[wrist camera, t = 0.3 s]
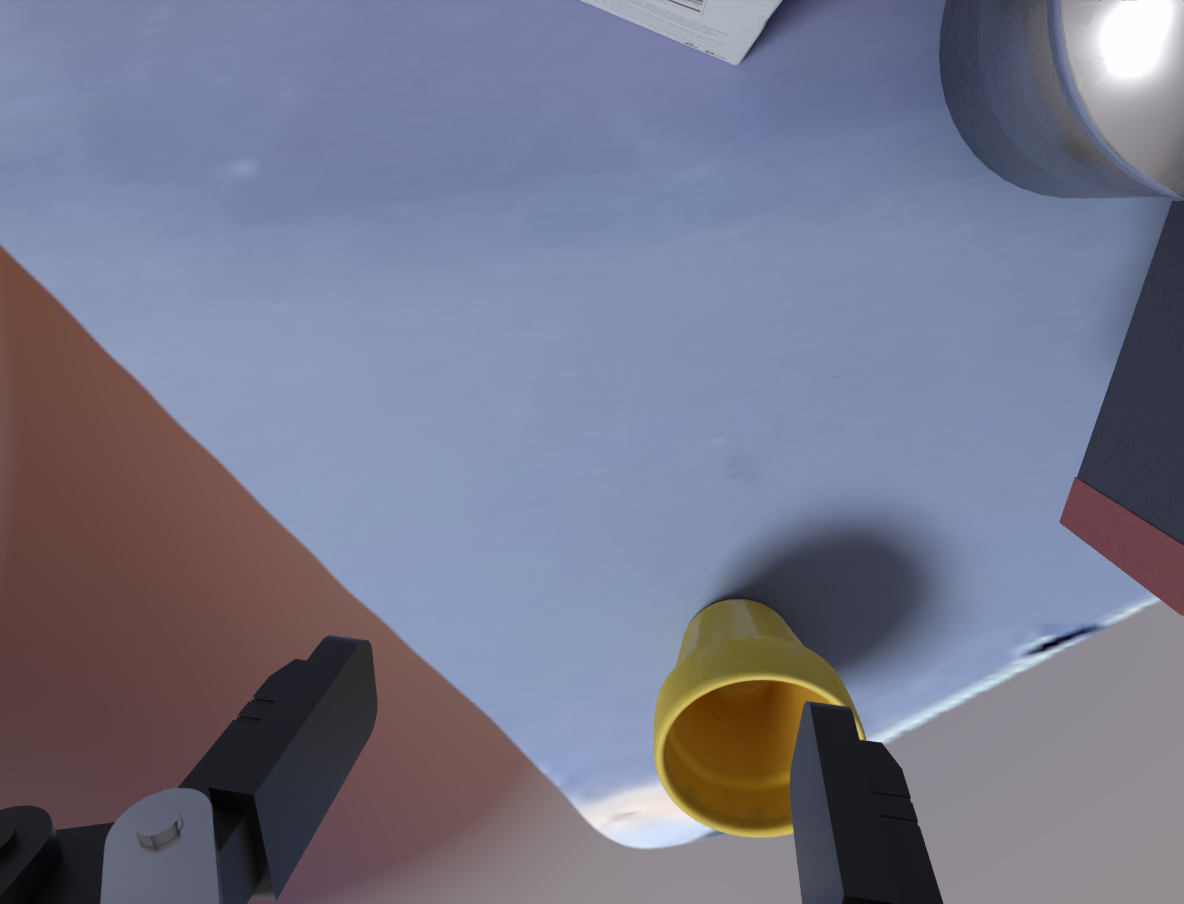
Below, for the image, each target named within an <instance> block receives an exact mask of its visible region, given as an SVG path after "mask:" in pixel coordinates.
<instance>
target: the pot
mask: <svg viewBox="0 0 1184 904" xmlns="http://www.w3.org/2000/svg"><path fill="white" fill-rule="evenodd" d="M939 58H940V70H941V81H942V86H943V90H944V95H945V99H946V103H947V106H948V108H949V111H950V114H951V117H952V119H953V122H954V124H955V125H956V127H957V129H958V131H959V133H960V135H961V137H962V138H963V140H964V141H965V143H966V144H967V145H968V147H969V148H970V149H971V151H972V152H973V153H974V154H975V156H976V157H977V158H979V159H980V160H981V161H982V162H983V163H984V164H985V165H986V166H987V167H988V168H989V169H990V170H992V171H993V172H994V173H996V174H997V175H999V176H1000V177H1002V178H1003V179H1004V180H1006V181H1008V182H1010V183H1012V184H1014V185H1016V186H1018V187H1020V188H1022V189H1026V190H1029V191H1032V192H1035V193H1038V194H1041V195H1047V196H1053V197H1059V198H1123V197H1172V196H1169V195H1166V194H1163V193H1160V192H1158V191H1156V190H1154V189H1152V188H1150V187H1148V186H1146V185H1144V184H1142V183H1140V182H1138V181H1136V180H1134V179H1133V178H1131V177H1130V176H1129V175H1127V174H1126V173H1125V172H1123V171H1122V170H1121V169H1119V168H1118V167H1116V166H1115V165H1114V164H1112V163H1111V162H1110V161H1109V160H1108V159H1107V158H1106V157H1105V156H1104V155H1103V154H1102V153H1101V152H1100V151H1099V149H1098V148H1097V147H1096V146H1095V145H1094V144H1093V143H1092V142H1091V141H1090V139H1089V138H1088V136H1087V135H1086V134H1085V132H1084V131H1083V129H1082V128H1081V126H1080V125H1079V123H1078V122H1077V121H1076V119H1075V117H1074V115H1073V113H1072V111H1071V109H1070V107H1069V105H1068V103H1067V101H1066V99H1065V97H1064V95H1063V92H1062V89H1061V86H1060V83H1059V80H1058V77H1057V73H1056V70H1055V67H1054V64H1053V59H1052V53H1051V46H1050V40H1049V34H1048V19H1047V0H947V1H946V5H945V8H944V14H943V20H942V27H941V33H940V55H939Z"/></svg>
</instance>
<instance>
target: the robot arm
mask: <svg viewBox="0 0 1184 904" xmlns="http://www.w3.org/2000/svg"><path fill="white" fill-rule="evenodd" d="M376 714H377V694H376V684H375V675H374V664H373V654H372V647H371V644H370V643H369V641H367V640H362V639H354V638H347V637H340V636H333V635H329V636H327V637H325V638H324V639H323V640H322V642H321V643H320V644H319V645H318V647H317V648H316V649H315V650H314V652H313V653H312V654H311V656H310V657H309V658H308V659H307V661H305V660H299V659H295V660H293V661H292V662H290V663H289V664H287V665H286V666H284V667H283V668H281V669H280V670H278V671H277V672H275V673H274V674H272V675H271V676H269V678H268V679H267V680H266V681H265V682H264V684H263V685H262V686H261V687H260V688H259V690H258V691H257V692H256V693H255V695H254V696H253V697H252V701H251V702H248V703H247V704H246V705H245V707H244V708H243V709H242V710H241V712H240V713H239V714H238V717H237V719H236V720H233V721H232V723H231V724H230V725H229V726H228V728H227V729H226V730H225V731H224V732H223V733H222V735H221V736H220V737H219V738H218V740H217V741H216V742H215V743H214V744H213V746H212V747H211V748H210V749H209V750H208V752H207V753H206V754H205V755H204V757H203V758H202V759H201V760H200V761H199V763H198V764H197V765H196V766H195V768H194V769H193V770H192V771H191V772H190V774H189V775H188V776H187V777H186V778H185V780H184V781H183V782H182V783H181V785H180V786H179V787H178V788H175V789H169V790H165V791H161V792H159V793H156V794H153V795H151V796H149V797H147V798H145V799H143V800H141V801H139V802H138V803H136V804H135V805H133V806H132V807H131V808H129V809H128V810H127V811H126V812H124V813H123V814H122V815H121V816H120V817H119V819H118V820H117V821H116V822H112V823H106V824H98V825H91V826H84V827H76V828H68V829H60V830H55V828H54V825H53V822H52V820H51V817H50V816H49V814H48V813H47V812H46V811H45V810H43V809H41V808H39V807H35V806H15V807H10V808H6V809H2V810H0V904H247V903H248V901H249V900H250V898H251V897H256V898H260V899H266V900H271V901H276V900H277V898H278V897H279V895H280V893H281V891H282V890H283V888H284V886H285V884H286V883H287V881H288V879H289V877H290V876H291V874H292V872H293V870H294V869H295V867H296V865H297V863H298V862H299V860H300V858H301V856H302V855H303V853H304V851H305V849H306V847H307V846H308V844H309V842H310V841H311V839H312V837H313V835H314V834H315V832H316V830H317V828H318V826H319V825H320V823H321V821H322V819H323V818H324V816H325V814H326V813H327V811H328V809H329V807H330V805H331V804H332V802H333V800H334V798H335V797H336V795H337V793H338V792H339V790H340V788H341V786H342V785H343V783H344V781H345V779H346V778H347V776H348V774H349V772H350V771H351V769H352V767H353V765H354V764H355V762H356V760H357V758H358V756H359V755H360V753H361V751H362V749H363V748H364V746H365V744H366V742H367V741H368V739H369V737H370V735H371V733H372V730H373V727H374V724H375V720H376ZM910 798H911V797H910V794H909V791H908V787H907V784H906V781H905V778H904V774H903V771H902V768H901V767H900V766H899V765H898V763H897V762H896V761H895V759H894V758H893V757H892V755H891V754H890V753H889V752H888V751H887V749H886V748H885V746H884V745H883V744H882V743H880V742H872V741H865V740H860V739H859V735H858V731H857V727H856V723H855V719H854V715H853V712H852V709H851V708H850V707H848V706H840V705H833V704H825V703H818V702H811V701H806V702H805V704H804V707H803V710H802V715H801V720H800V725H799V730H798V734H797V739H796V744H795V749H794V754H793V759H792V764H791V771H790V806H791V815H792V823H793V831H794V839H795V847H796V855H797V864H798V872H799V880H800V888H801V896H802V904H943V901H942V898H941V895H940V891H939V888H938V885H937V881H936V878H935V875H934V872H933V868H932V865H931V862H930V859H929V856H928V852H927V849H926V846H925V842H924V839H923V836H922V833H921V830H920V827H919V826H918V824H917V822H918V820H917V816H916V813H915V810H914V807H913V804H912V803H911V801H910Z"/></svg>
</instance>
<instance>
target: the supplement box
mask: <svg viewBox="0 0 1184 904" xmlns="http://www.w3.org/2000/svg"><path fill="white" fill-rule="evenodd" d="M581 1H583V2H585V3H587V4H590V5H592V6H595V7H597V8H599V9H602V10H604V11H606V12H609V13H611V14H614V15H616V16H618V17H621V18H623V19H625V20H628V21H630V22H633V23H635V24H637V25H640V26H642V27H645V28H647V29H649V30H652V31H654V32H657V33H659V34H661V35H664V36H666V37H668V38H671V39H673V40H676V41H678V42H680V43H683V44H685V45H687V46H690V47H692V48H695V49H697V50H699V51H702V52H704V53H707V54H709V55H711V56H714V57H716V58H719V59H721V60H723V61H726V62H728V63H731V64H733V65H739V64H740V63H741V62H742V61H743V59H744V57H745V56H746V54H747V52H748V51H749V49H750V48H751V46H752V45H753V43H754V42H755V41H756V39H757V38H758V36H759V35H760V33H761V32H762V30H763V29H764V27H765V26H766V23H767V20H768V18H769V17H770V16H771V15H772V14H773V12H774V11H775V10H776V8H777V7H778V6H779V5H780V4H781V2H782V1H783V0H581Z"/></svg>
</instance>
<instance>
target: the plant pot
mask: <svg viewBox="0 0 1184 904" xmlns="http://www.w3.org/2000/svg"><path fill="white" fill-rule="evenodd" d="M806 701H811V702H818V703H825V704H833V705H840V706H848V707H850V708H851V709H852V712H853V715H854V719H855V723H856V727H857V731H858V735H859V739H860V740H865V741H866V737H865V733H864V730H863V727H862V724H861V721H860V719H859V716H858V714H857V711H856V709H855V707H854V704H853V702H852V700H851V698H850V695H849V693H848V691H847V690H846V688H845V686H844V684H843V682H842V680H841V678H840V677H839V675H838V674H837V673H836V671H835V670H834V669H833V668H832V667H831V666H830V665H829V664H828V663H827V662H826V661H825V660H824V659H823V658H821V657H820V656H819V655H818V654H816V653H815V652H813V651H811V650H810V649H808V648H806V647H804V645H803V644H802V643H801V641H800V640H799V639H798V637H797V636H796V635H795V633H794V632H793V631H792V630H791V628H790V627H789V626H788V624H787V623H786V622H785V621H784V619H783V618H782V617H781V616H780V615H779V614H778V613H777V612H775V611H774V610H773V609H771V608H770V607H768V606H766V605H764V604H762V603H759V602H756V601H752V600H747V599H730V600H724V601H720V602H717V603H714V604H712V605H710V606H708V607H707V608H705V609H703V610H702V611H701V612H700V613H698V614H697V615H696V616H695V617H694V618H693V620H692V621H691V622H690V624H689V626H688V628H687V630H686V632H685V635H684V639H683V642H682V646H681V650H680V653H679V657H678V660H677V664H676V667H675V668H674V669H673V670H672V671H671V673H670V674H669V675H668V677H667V678H666V679H665V681H664V683H663V685H662V687H661V689H660V692H659V694H658V698H657V702H656V707H655V717H654V759H655V766H656V770H657V773H658V776H659V779H660V781H661V784H662V786H663V787H664V789H665V790H666V792H667V794H668V795H669V797H670V798H671V799H672V800H673V802H674V803H675V804H676V805H677V806H678V807H679V808H680V809H681V810H682V811H683V812H685V813H686V814H687V815H689V816H690V817H691V818H693V819H694V820H696V821H698V822H700V823H701V824H703V825H705V826H708V827H710V828H712V829H715V830H717V831H720V832H724V833H727V834H732V835H737V836H744V837H756V838H760V837H761V838H763V837H778V836H784V835H789V834H794V831H793V823H792V815H791V806H790V771H791V764H792V759H793V754H794V749H795V744H796V739H797V734H798V730H799V725H800V720H801V715H802V710H803V707H804V704H805V702H806Z"/></svg>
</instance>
